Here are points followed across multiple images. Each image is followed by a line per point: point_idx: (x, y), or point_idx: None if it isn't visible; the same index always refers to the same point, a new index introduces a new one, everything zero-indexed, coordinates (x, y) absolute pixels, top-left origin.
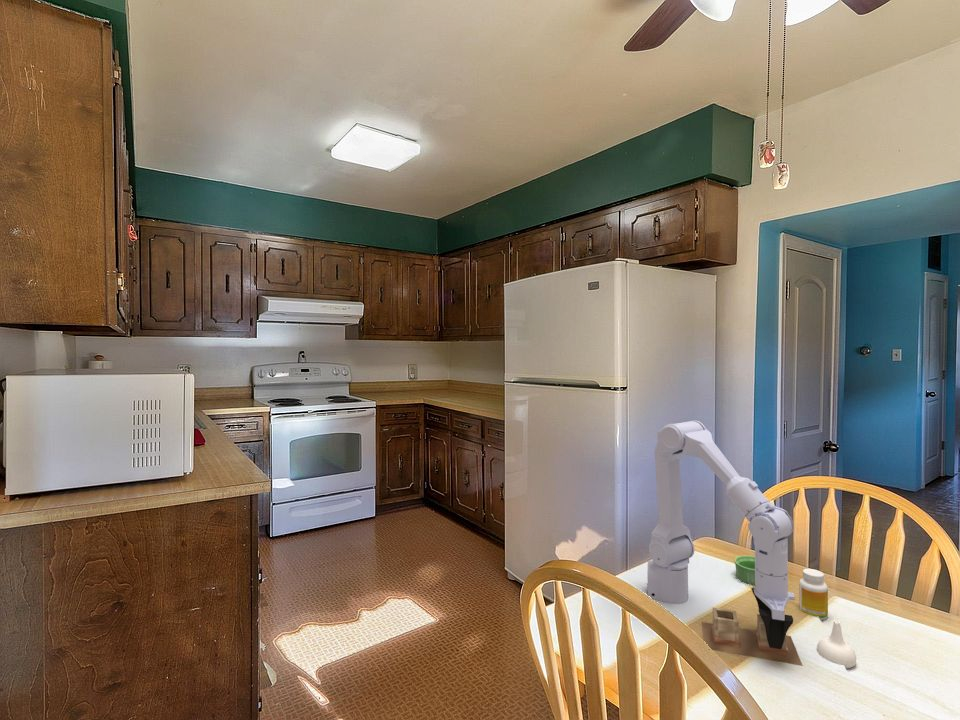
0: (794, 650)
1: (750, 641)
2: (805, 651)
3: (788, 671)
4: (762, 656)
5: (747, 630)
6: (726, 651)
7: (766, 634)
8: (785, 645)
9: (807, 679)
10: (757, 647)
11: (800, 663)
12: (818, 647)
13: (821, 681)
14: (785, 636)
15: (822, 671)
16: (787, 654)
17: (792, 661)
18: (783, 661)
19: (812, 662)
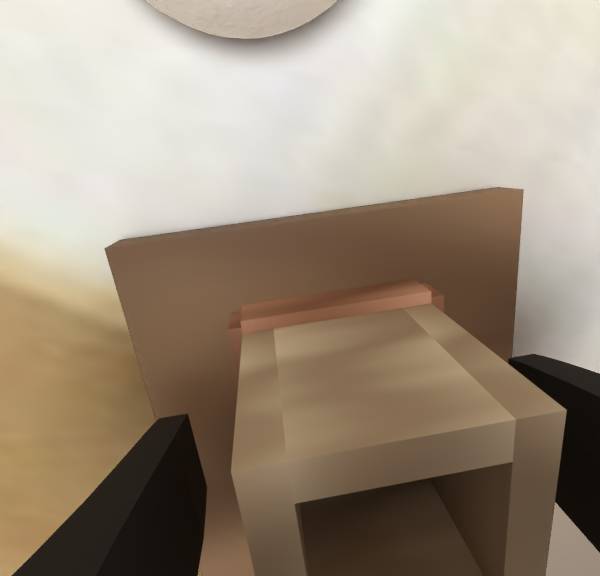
0: (334, 232)
1: None
2: (226, 141)
3: (525, 269)
4: None
5: None
6: None
7: (593, 533)
8: (448, 321)
9: (583, 165)
10: None
11: (498, 201)
12: (278, 9)
13: (587, 73)
14: (504, 364)
15: (464, 44)
16: (412, 282)
17: (490, 253)
18: (505, 307)
19: (367, 105)
